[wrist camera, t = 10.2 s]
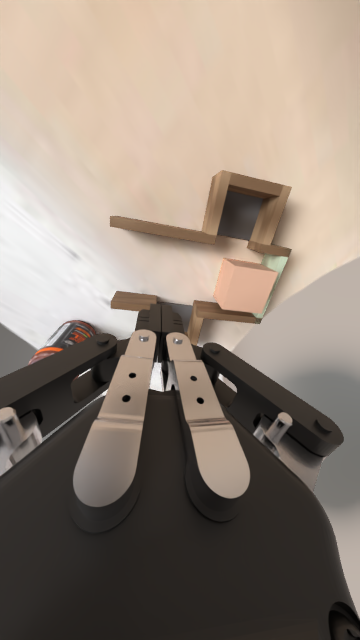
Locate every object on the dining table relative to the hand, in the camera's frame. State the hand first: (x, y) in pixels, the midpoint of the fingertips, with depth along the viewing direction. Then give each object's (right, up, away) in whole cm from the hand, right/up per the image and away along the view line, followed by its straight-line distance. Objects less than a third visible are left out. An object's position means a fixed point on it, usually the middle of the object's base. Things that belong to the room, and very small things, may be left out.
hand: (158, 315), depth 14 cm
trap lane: (+4, +7, +14) cm, 16 cm away
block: (+10, +6, +16) cm, 20 cm away
